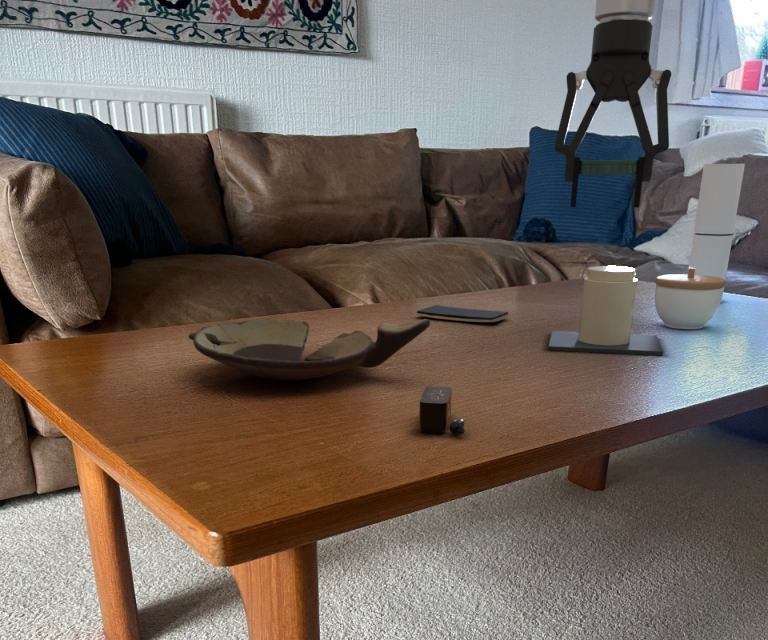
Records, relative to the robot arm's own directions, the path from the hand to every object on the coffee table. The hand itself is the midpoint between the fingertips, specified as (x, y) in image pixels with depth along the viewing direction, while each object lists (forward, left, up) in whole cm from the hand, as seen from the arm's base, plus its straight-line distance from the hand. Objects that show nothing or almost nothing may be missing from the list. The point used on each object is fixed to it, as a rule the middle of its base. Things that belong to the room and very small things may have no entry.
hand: (604, 206), depth 112 cm
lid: (0, 0, +6) cm, 6 cm away
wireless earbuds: (+15, +48, -20) cm, 54 cm away
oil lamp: (+36, +31, -20) cm, 51 cm away
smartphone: (+22, -15, -19) cm, 33 cm away
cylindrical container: (-22, -46, -20) cm, 55 cm away
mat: (-2, +2, -19) cm, 20 cm away
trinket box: (-15, -16, -20) cm, 30 cm away
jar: (-2, +2, -19) cm, 19 cm away
